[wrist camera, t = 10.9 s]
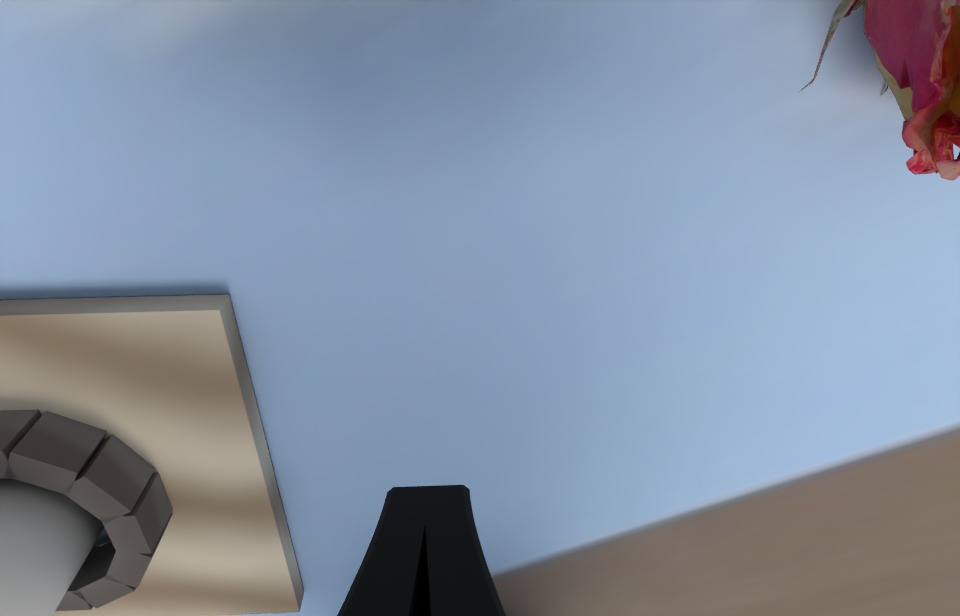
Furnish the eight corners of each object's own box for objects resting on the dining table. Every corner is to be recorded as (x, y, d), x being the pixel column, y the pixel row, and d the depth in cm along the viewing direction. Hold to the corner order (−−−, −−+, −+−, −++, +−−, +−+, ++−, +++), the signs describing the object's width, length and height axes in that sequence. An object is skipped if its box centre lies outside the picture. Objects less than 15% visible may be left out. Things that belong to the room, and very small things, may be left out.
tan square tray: (304, 591, 28) (289, 656, 26) (-48, 606, 28) (-99, 673, 25) (228, 294, 20) (196, 346, 17) (-274, 306, 20) (-385, 362, 17)
